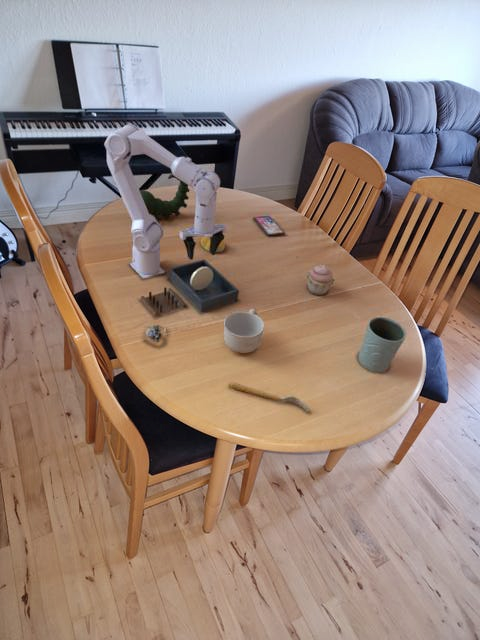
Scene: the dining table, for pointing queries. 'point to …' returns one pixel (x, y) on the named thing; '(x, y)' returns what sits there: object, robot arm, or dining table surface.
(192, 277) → the plate
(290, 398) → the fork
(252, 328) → the teacup
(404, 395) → the dining table surface
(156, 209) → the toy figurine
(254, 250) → the dining table surface
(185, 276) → the dark blue tray
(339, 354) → the dining table surface
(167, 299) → the plate rack
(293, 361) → the dining table surface
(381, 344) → the green cylindrical pot
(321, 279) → the cupcake
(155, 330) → the oyster shell
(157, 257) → the robot arm
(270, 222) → the smartphone
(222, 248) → the bread roll
